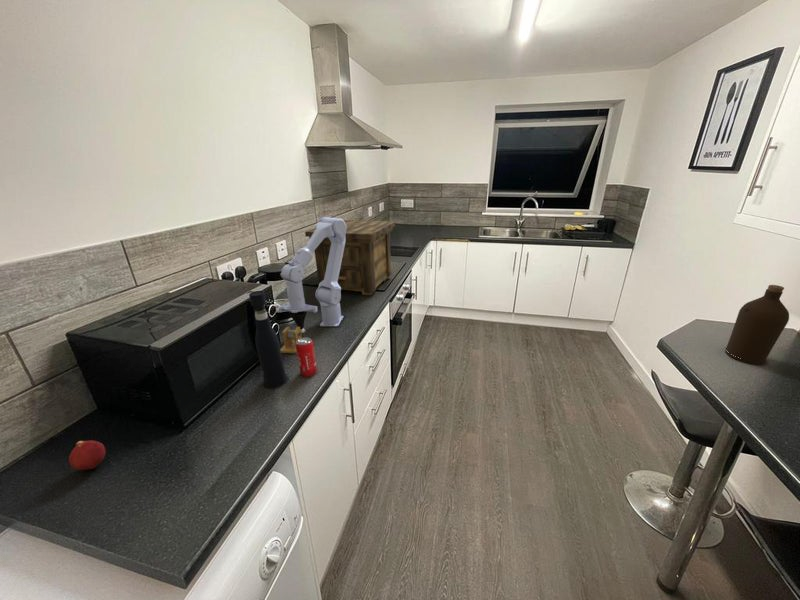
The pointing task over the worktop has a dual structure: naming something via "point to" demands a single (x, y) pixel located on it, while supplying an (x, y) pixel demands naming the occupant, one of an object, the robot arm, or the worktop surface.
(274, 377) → the black bottle
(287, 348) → the bracket
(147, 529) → the worktop surface
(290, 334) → the tap lever
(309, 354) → the beverage can
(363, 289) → the crate
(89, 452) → the onion
